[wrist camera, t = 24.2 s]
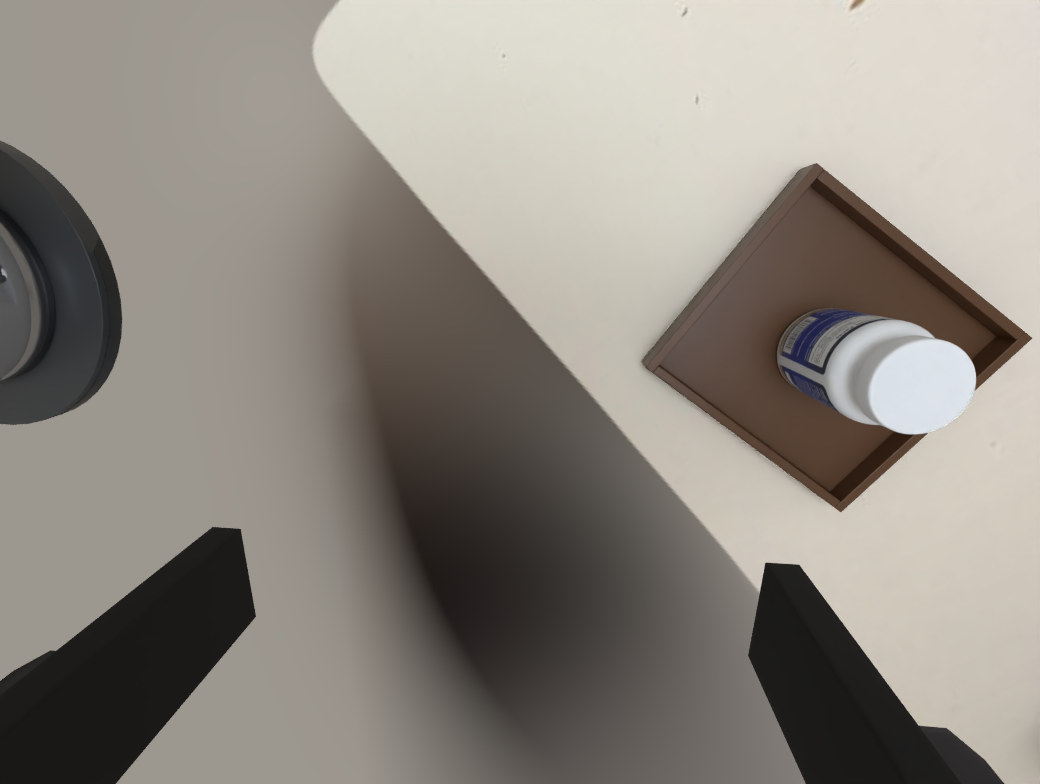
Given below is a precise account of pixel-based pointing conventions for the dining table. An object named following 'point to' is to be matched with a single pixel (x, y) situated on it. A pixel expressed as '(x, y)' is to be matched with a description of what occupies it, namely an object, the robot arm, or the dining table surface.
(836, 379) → the pill bottle
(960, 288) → the brown square tray
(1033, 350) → the dining table surface
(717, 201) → the dining table surface
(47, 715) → the robot arm
